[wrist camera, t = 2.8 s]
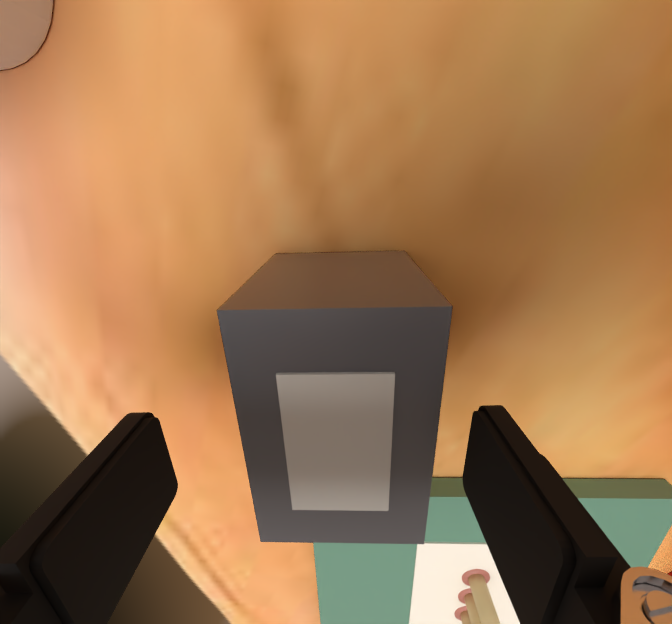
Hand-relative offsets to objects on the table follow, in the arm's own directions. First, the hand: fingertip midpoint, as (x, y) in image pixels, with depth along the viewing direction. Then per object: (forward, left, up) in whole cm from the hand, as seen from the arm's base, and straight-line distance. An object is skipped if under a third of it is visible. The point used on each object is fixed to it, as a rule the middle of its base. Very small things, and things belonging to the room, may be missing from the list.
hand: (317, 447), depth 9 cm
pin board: (-9, +18, -6) cm, 21 cm away
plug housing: (-1, 0, -6) cm, 6 cm away
